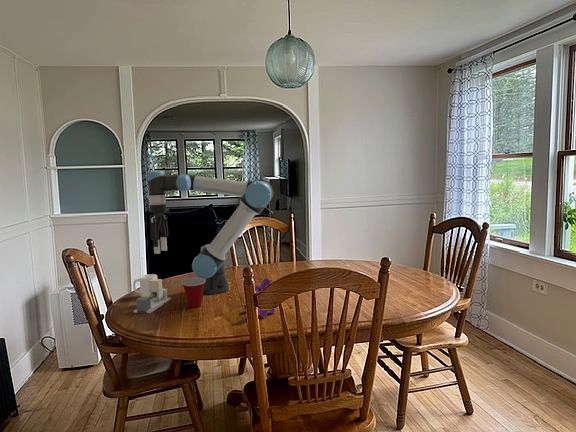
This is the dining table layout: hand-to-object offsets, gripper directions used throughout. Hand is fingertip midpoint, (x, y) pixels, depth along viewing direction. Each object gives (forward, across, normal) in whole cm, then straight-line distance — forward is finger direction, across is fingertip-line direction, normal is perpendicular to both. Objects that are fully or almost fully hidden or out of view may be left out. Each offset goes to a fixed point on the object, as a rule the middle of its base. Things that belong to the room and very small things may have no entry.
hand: (160, 251), depth 208 cm
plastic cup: (+23, +10, +20) cm, 32 cm away
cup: (+23, -3, -11) cm, 26 cm away
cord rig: (+23, +11, 0) cm, 25 cm away
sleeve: (+21, +7, 0) cm, 22 cm away
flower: (+23, +18, +51) cm, 59 cm away
